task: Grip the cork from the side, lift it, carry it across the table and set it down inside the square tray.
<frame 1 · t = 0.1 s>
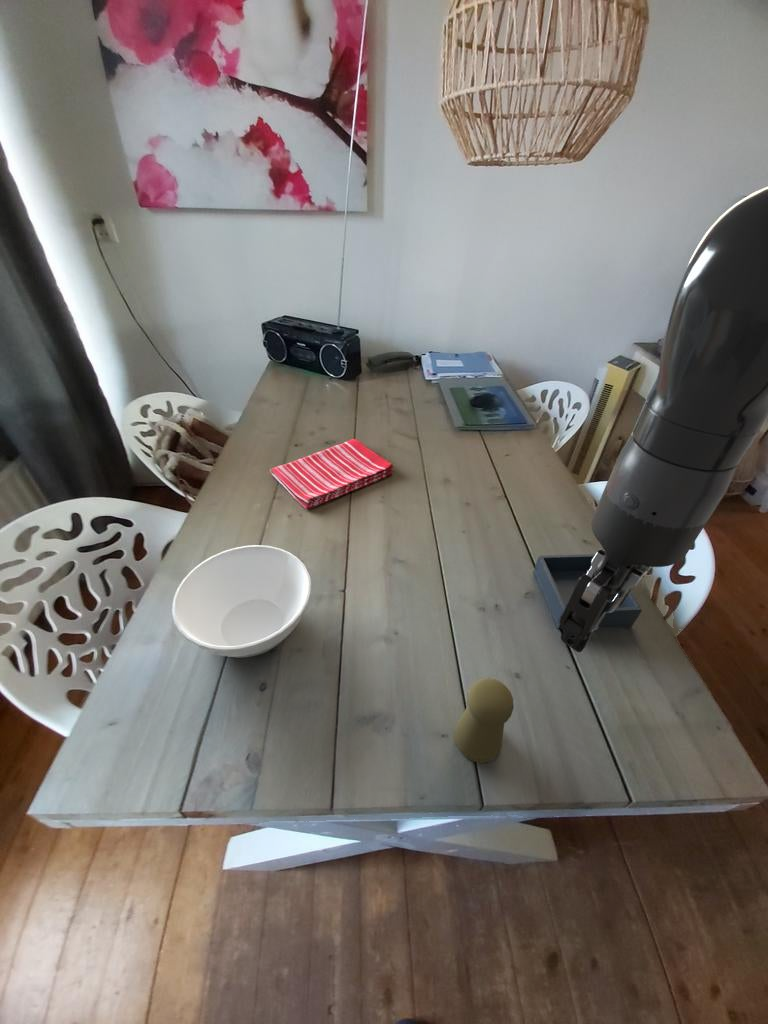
hand: (592, 620, 45), 21 cm above the table, tool pointing down, fingers open, 8 cm apart
cork: (477, 738, 56), on the table
bowl: (253, 626, 69), on the table
dish towel: (333, 475, 102), on the table
square tray: (579, 598, 75), on the table
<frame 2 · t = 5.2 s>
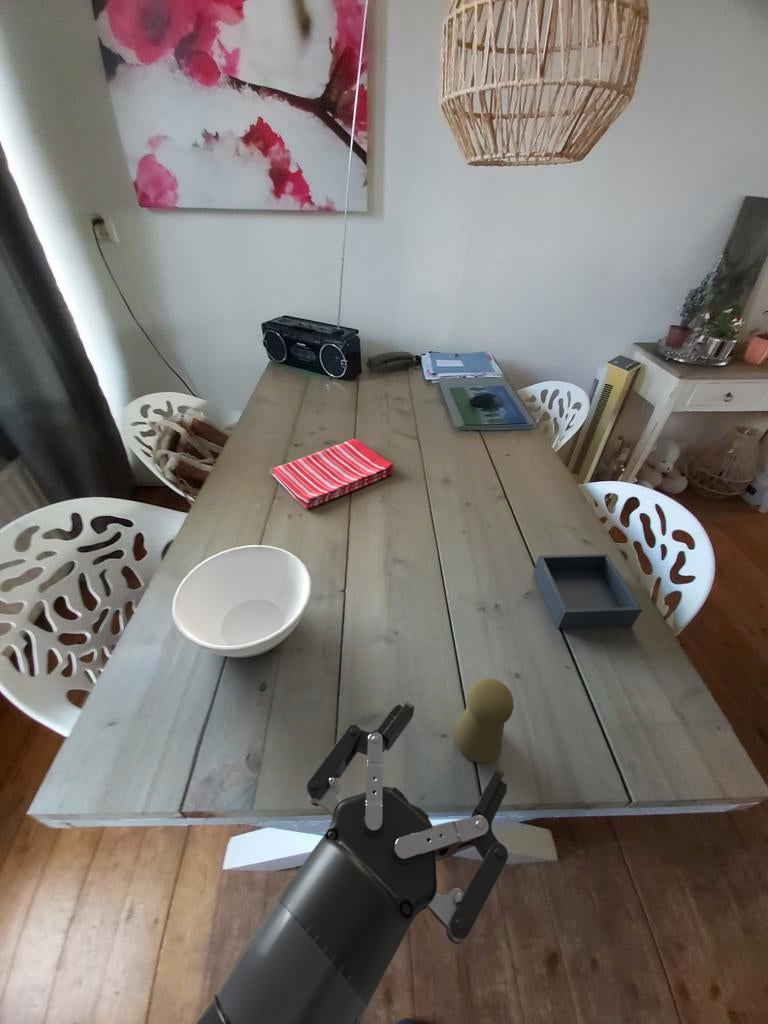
hand: (452, 739, 37), 20 cm above the table, tool horizontal, fingers open, 8 cm apart
nothing on the table moved.
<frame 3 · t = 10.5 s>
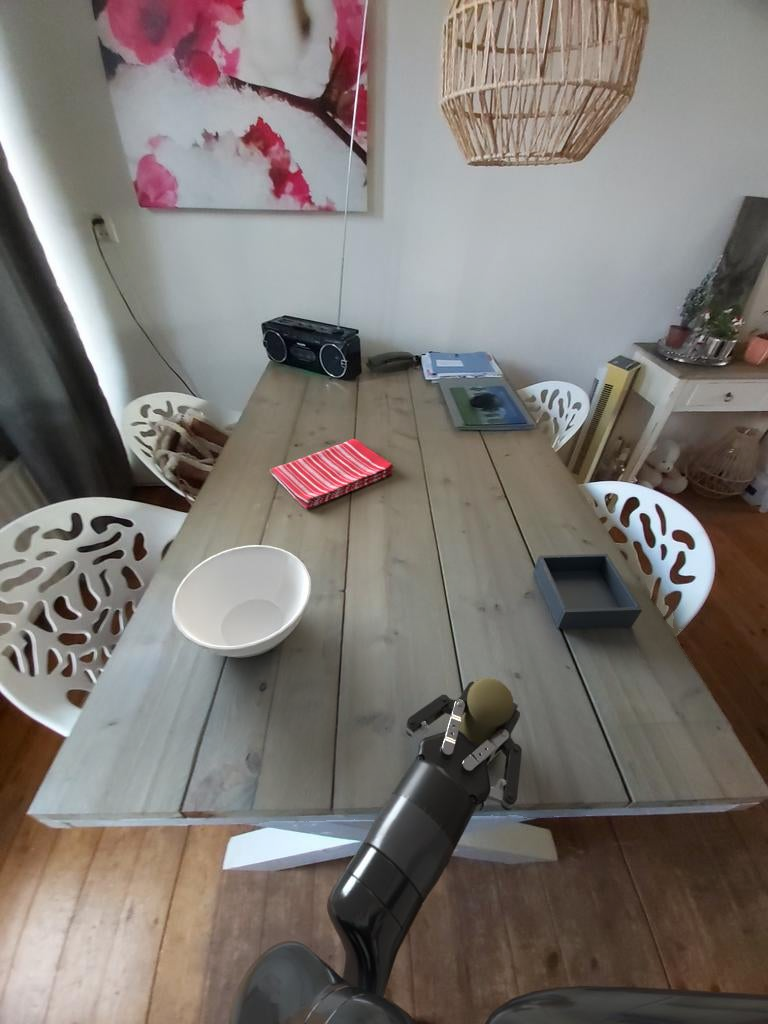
hand: (496, 695, 54), 7 cm above the table, tool horizontal, fingers closed on cork, 4 cm apart
cork: (477, 738, 56), on the table, touching gripper
everything else where it was.
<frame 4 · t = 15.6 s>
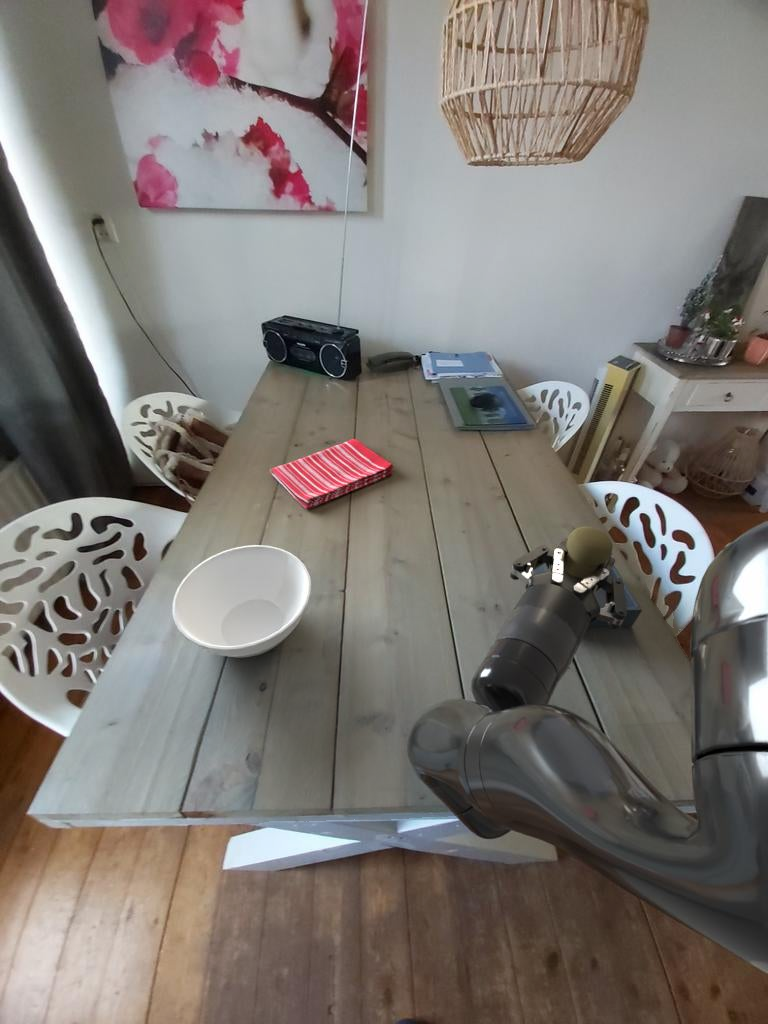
hand: (588, 549, 58), 18 cm above the table, tool horizontal, fingers closed on cork, 4 cm apart
cork: (567, 595, 61), point 11 cm above the table, touching gripper
everything else where it was.
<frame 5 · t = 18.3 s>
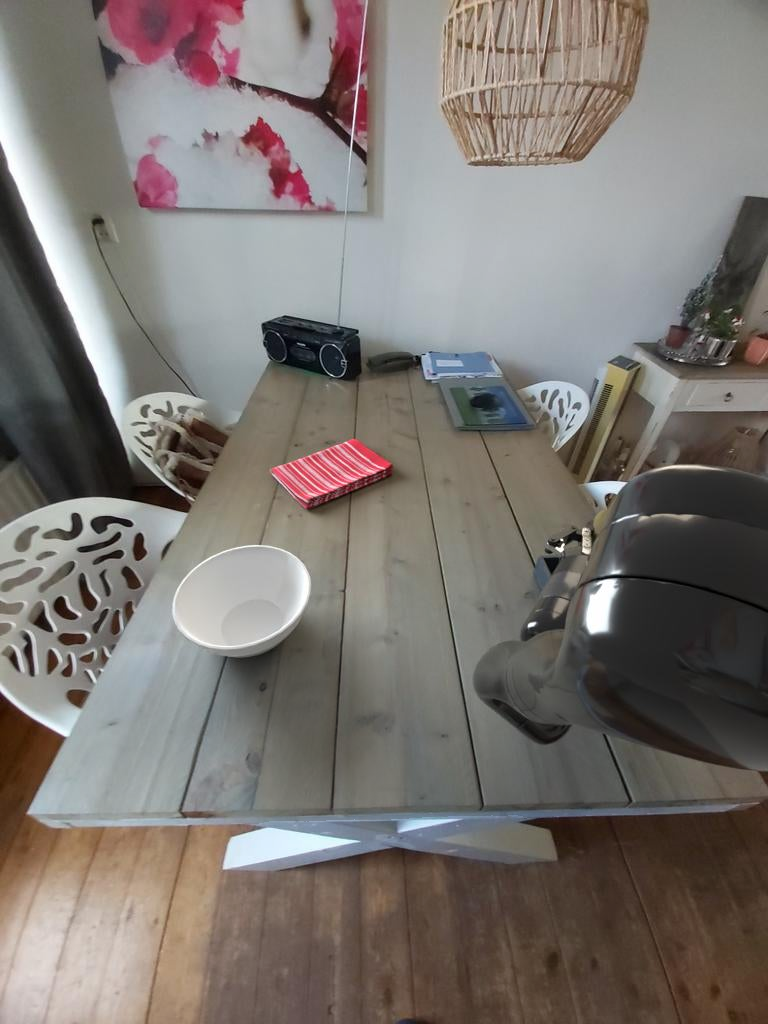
hand: (611, 529, 68), 14 cm above the table, tool horizontal, fingers closed on cork, 4 cm apart
cork: (592, 569, 70), point 7 cm above the table, touching gripper
everything else where it was.
when the fingers open (7 cm above the table, at t = 20.5 s): cork stays where it is, resting on square tray.
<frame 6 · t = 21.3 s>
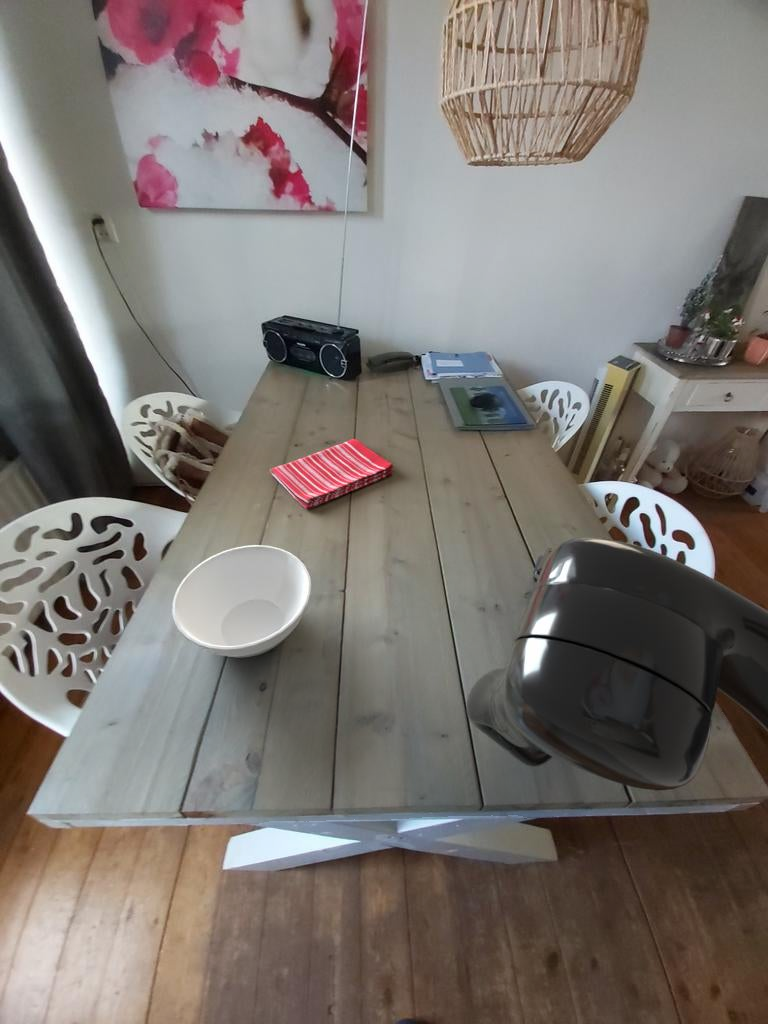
hand: (599, 556, 70), 8 cm above the table, tool horizontal, fingers open, 8 cm apart
cork: (580, 595, 74), point 1 cm above the table, touching square tray
everything else where it was.
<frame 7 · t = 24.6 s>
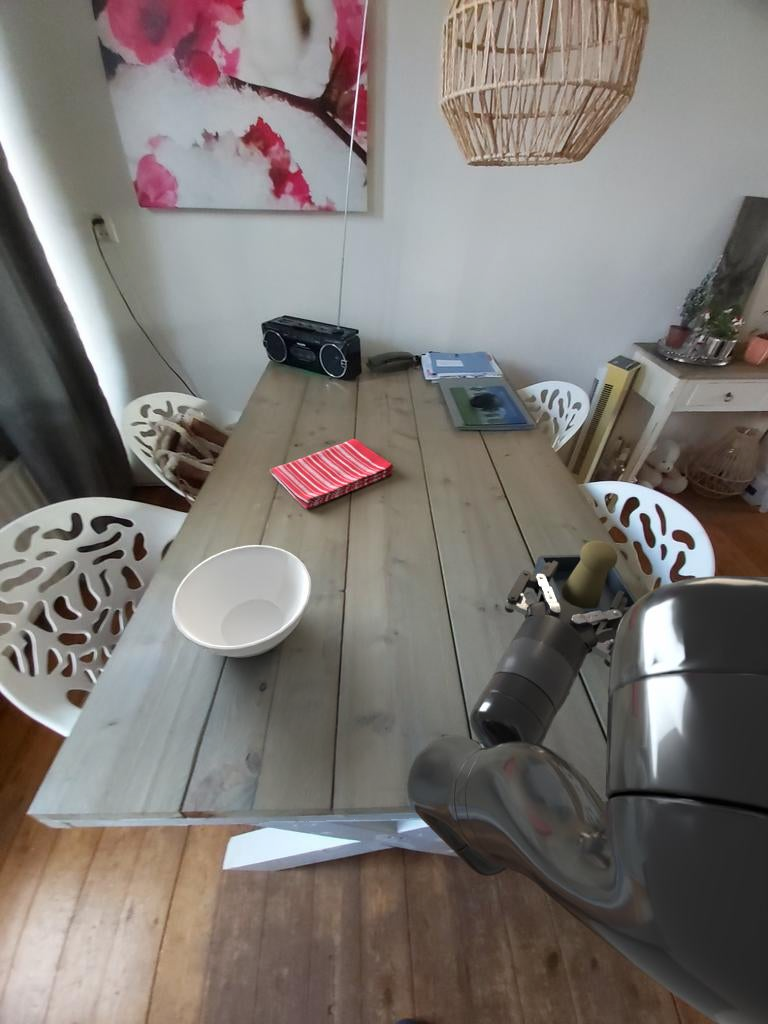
hand: (585, 579, 59), 14 cm above the table, tool horizontal, fingers open, 8 cm apart
nothing on the table moved.
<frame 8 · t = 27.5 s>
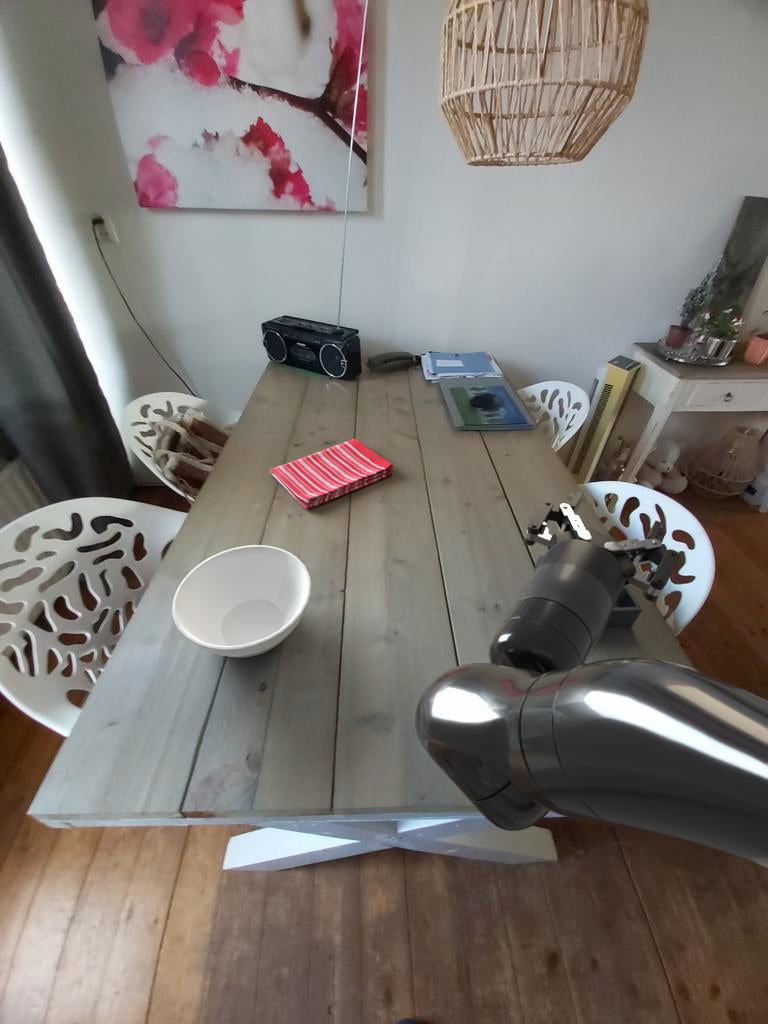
hand: (615, 512, 51), 26 cm above the table, tool horizontal, fingers open, 8 cm apart
nothing on the table moved.
at the end: cork inside the target area in the square tray (0.1 cm from its centre), point 0.6 cm above the square tray's base; cork tilted 0°; the gripper is holding nothing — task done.
